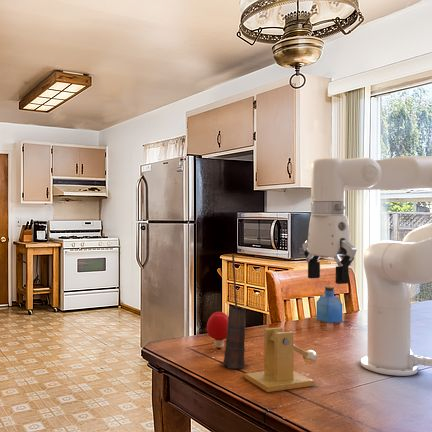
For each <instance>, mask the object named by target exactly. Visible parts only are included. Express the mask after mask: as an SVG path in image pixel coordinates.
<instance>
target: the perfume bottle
mask: <svg viewBox="0 0 432 432" xmlns="http://www.w3.org/2000/svg"><path fill="white" fill-rule="evenodd" d="M323 292H324V295H320V297H319V298H318V300H317V301H316V312H315V313H316V314H315V315H316V317H315V318H316V320H317V321H321V322H323V323H327V324H330V323H342V322H343V303H342V301H341V300H340V298H339V297H338V296H336V295H335V287H334V286H324V290H323Z"/></svg>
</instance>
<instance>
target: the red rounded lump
mask: <svg viewBox="0 0 432 432" xmlns="http://www.w3.org/2000/svg"><path fill="white" fill-rule="evenodd" d="M227 327H228V315H227V314H226V313H225V312H223V311H214V312H213V313H212V314H211V315H210V316H209V318H208V320H207V322H206V332H207V334H208V336H209V337H210V338H212V339H213V346H214V347H215V348H216V349H218V350H220V349H222V348H223V347H225V343H224V342H225V340H226V336H227Z"/></svg>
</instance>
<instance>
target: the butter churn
mask: <svg viewBox="0 0 432 432" xmlns="http://www.w3.org/2000/svg"><path fill="white" fill-rule="evenodd" d="M231 260H232V276H233V277H232V278H233V291H234V292H233V293H234V306H229V308H228V315H227V316H228V327H227V336H226V339H225V345H224V355H223V366H224V367H227V369H235V370H237V369H240V370H241V369H242V368H244V367H245V351H246V348H245V346H246V345H245V343H246V342H245V341H246V310H247V309H246V308H245V307H242V306H238V300H237V298H238V297H237V295H238V294H237V283H236V265H235V254H231Z"/></svg>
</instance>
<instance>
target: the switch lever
mask: <svg viewBox="0 0 432 432" xmlns="http://www.w3.org/2000/svg"><path fill="white" fill-rule="evenodd" d="M275 333H279V332H278V331H275V330H274V331H273V333H272V335H271V337H270V340H271V341H273V342H275ZM294 352H296V353H298V354H299V355H301V356H302V359H303V361H304V362H305V363H306V364H308V365H314V364H315V363H316V362H317V360H318V355H317V353H316V352H315V351H314V350H312V349H306V350H304V349H302V348H300V347H299V346H297V345H295V344H294Z"/></svg>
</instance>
